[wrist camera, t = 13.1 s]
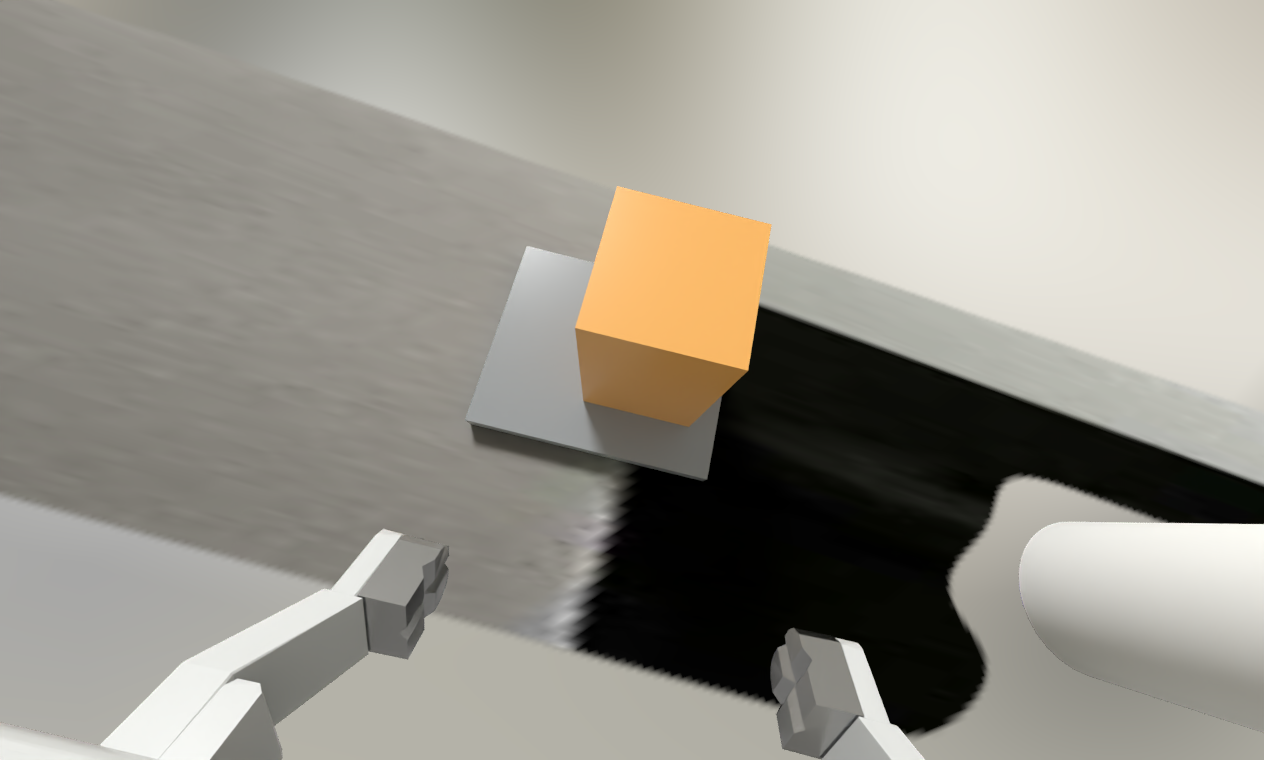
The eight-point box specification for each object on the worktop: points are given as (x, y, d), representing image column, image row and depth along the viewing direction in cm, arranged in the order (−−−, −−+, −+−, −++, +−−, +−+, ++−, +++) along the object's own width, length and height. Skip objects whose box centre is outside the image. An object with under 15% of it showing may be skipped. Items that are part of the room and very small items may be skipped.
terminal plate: (470, 423, 22) (464, 419, 21) (529, 256, 25) (526, 246, 24) (702, 480, 22) (707, 479, 21) (733, 306, 25) (739, 298, 24)
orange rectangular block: (583, 401, 22) (574, 327, 13) (609, 305, 24) (617, 186, 15) (688, 426, 22) (748, 370, 13) (707, 330, 24) (771, 224, 15)
